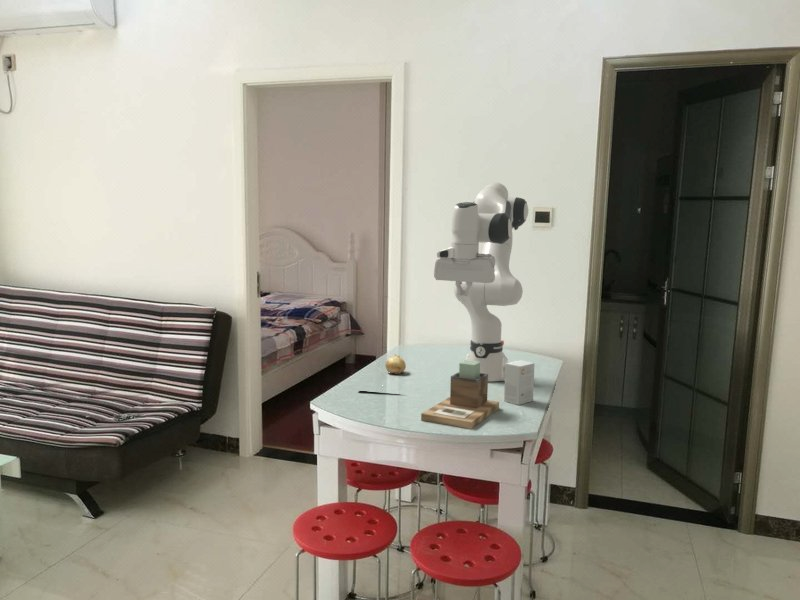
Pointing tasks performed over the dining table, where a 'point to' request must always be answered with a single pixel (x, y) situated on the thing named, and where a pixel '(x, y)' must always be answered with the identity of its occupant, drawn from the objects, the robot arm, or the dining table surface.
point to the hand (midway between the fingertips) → (463, 295)
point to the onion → (395, 364)
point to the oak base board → (460, 421)
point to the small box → (519, 382)
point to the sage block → (469, 369)
